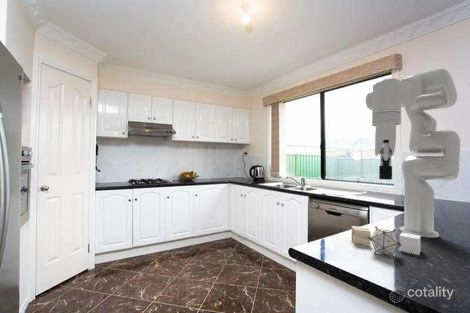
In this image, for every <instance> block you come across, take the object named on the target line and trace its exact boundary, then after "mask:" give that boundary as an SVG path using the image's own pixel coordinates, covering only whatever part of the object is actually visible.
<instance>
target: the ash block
mask: <svg viewBox="0 0 470 313" xmlns="http://www.w3.org/2000/svg"><path fill="white" fill-rule="evenodd" d="M371 233H372V232H371V230H370V228H368V227H364V226H362V227H361V226H356V225H355V226H353V225H351V239H352V240H351V241H352V243H353V244H354V245H357V244H364V245H363V246H366V245H370V246H371V243H372V241H371V240H370V239H369V238H368V237H370V238H371V237H372V234H371Z"/></svg>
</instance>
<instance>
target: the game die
mask: <svg viewBox="0 0 470 313" xmlns="http://www.w3.org/2000/svg"><path fill="white" fill-rule="evenodd" d="M374 227H375V231H374V232H373V233H372V234H371V238H370V237H368V238H369V239H370V240H371V243H372V246H373V249H374V252H373V255H375V254H376V253H379V254H384V255H388V256H392V258H393V259H395V258H396V256H395V253H396V252H397V249H398V248H399V246H401V243H399V241H398V239H397V236H396V234H395V231H396V229H393V230H389V229H384V228H383V229H382V228H378V227H377V226H374Z"/></svg>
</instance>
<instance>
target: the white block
mask: <svg viewBox="0 0 470 313" xmlns="http://www.w3.org/2000/svg"><path fill="white" fill-rule="evenodd" d="M398 237H399V241H398V243H401V246H398V248H399V252H402V251H403V253H408V254H411V253H412V255H416V256H420V254H421V246H422V245H421V244H422V243H421V238H422V237H421V236H419V235H414V234H408V233H404V232H402V231H401V233H400V234H399V236H398Z"/></svg>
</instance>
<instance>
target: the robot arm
mask: <svg viewBox="0 0 470 313" xmlns="http://www.w3.org/2000/svg"><path fill="white" fill-rule="evenodd" d="M457 100H458V92H457V89H456V86H455V84H454V80H453V77H452V75H451V73H450V72H449V71H448V70H447V69H445V68H438V69H434V70H430V71H424V72H420V73H414V74H411V75H410V76H407V77H404V78H402V79H398V78H394V77H392V78H390V77H389V78H388V77H387V78H383V79H380V80H377V81H376V82H374V83H373V85H372V89H371V90H369V91H368V92H367V94H366V96H365V105H366V108H368V110H370V111H372V112H371V117H372V118H371V125H372V126H373V127H375V134H374V135H375V136H374V138H375V139H374V156H375V157H380V160H379V161H380V163H379V164H380V165H379V171H378V173H379V174H378V175H379V176H378V178H379V179H380V180H386V181H387V180H388V181H389V180H393V166H392V157H393V156H394V155H395V152H396V143H397V141H396V139H397V137H396V136H397V126H399V125H401V124H402V108H404V110H405V112H406V115H407V116H408V119H409V121H410V131H409V133H410V134H409V141H408V142H409V143H408V145H409V146H408V148H409V151H410V152H411V153H412V154H415V155H413V156H407V157H406V158H404V159H403V161H402V163H401V169H402V174H403V180H404V181H403V182H404V203H403V204H404V207H403V208H404V215H403V216H404V218H403V219H404V220H403V224H404V225H403V226H399V231H400V232H401V233H402V232H403V233H408V234H414V235H419V236H421V238H429V239H431V238H432V239H433V238H434V239H435V238H439V237H440V234H439V232H437V231H435V230H434V229H435V228H434V227H435V226H434V225H435V223H434V221H435V218H434V216H435V214H434V213H435V191H434V189H433V187H432V186H431V185H430V184H429V182H428V181H443V182H444V181H445V182H448V181H455V180H457V178H458V176H459V173H460V160H461V157H460V156H461V139H460V136H459V133H457V132H456V131H454V130H437V124H438V123H437V120H436V119H435V118H434V117H433V116H432V115H431V114H429V113H428V112H425V111H431V110H439V109H448V108H451V107H453V106H454V105H455V104H456V103H457ZM379 155H380V156H379Z"/></svg>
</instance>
